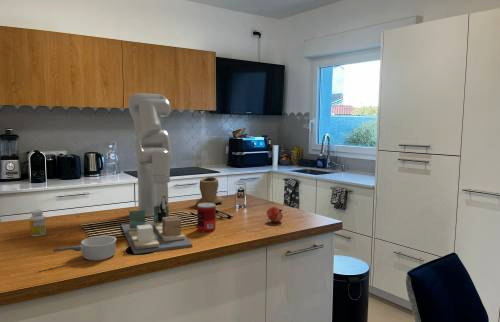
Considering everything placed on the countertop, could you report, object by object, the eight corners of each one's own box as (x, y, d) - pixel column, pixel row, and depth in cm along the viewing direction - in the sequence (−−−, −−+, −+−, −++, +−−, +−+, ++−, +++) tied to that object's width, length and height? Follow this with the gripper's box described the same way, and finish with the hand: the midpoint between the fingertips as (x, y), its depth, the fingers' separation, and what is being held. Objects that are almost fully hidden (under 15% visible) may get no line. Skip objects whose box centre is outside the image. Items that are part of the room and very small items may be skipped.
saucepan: (49, 261, 130) (49, 244, 129) (109, 248, 143) (108, 233, 142) (59, 271, 121) (59, 254, 121) (122, 257, 134) (121, 241, 134)
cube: (162, 232, 155) (162, 217, 154) (177, 230, 157) (177, 216, 157) (165, 236, 149) (165, 221, 149) (181, 234, 152) (181, 219, 151)
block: (137, 238, 146) (136, 225, 146) (150, 237, 148) (150, 224, 148) (139, 242, 142) (139, 229, 141) (153, 241, 144) (153, 227, 143)
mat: (121, 226, 170) (121, 224, 170) (169, 221, 179) (169, 219, 179) (134, 254, 137) (134, 251, 137) (192, 246, 146) (192, 244, 146)
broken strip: (127, 230, 160) (126, 211, 159) (146, 228, 164) (146, 209, 163) (136, 249, 138) (136, 227, 137) (159, 246, 142) (159, 225, 141)
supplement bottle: (31, 233, 159) (30, 209, 158) (46, 232, 161) (45, 209, 160) (29, 237, 154) (28, 213, 153) (44, 235, 156) (43, 212, 155)
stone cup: (202, 207, 208) (202, 179, 206) (194, 202, 219) (194, 176, 217) (227, 204, 215) (228, 177, 214) (219, 200, 226) (219, 174, 224)
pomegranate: (265, 227, 180) (279, 217, 174) (258, 213, 183) (273, 203, 177) (275, 226, 186) (289, 216, 180) (268, 212, 188) (283, 202, 183)
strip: (151, 224, 170) (151, 206, 169) (170, 222, 173) (169, 205, 172) (164, 241, 147) (164, 220, 146) (185, 238, 151) (185, 218, 150)
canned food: (218, 227, 171) (218, 203, 169) (211, 233, 163) (211, 207, 162) (201, 226, 173) (201, 201, 172) (194, 231, 165) (194, 205, 164)
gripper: (148, 176, 174) (149, 216, 176) (155, 182, 160) (156, 226, 162) (165, 175, 177) (165, 215, 179) (173, 181, 163) (174, 224, 165)
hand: (161, 220), depth 170 cm, fingers closed on strip
